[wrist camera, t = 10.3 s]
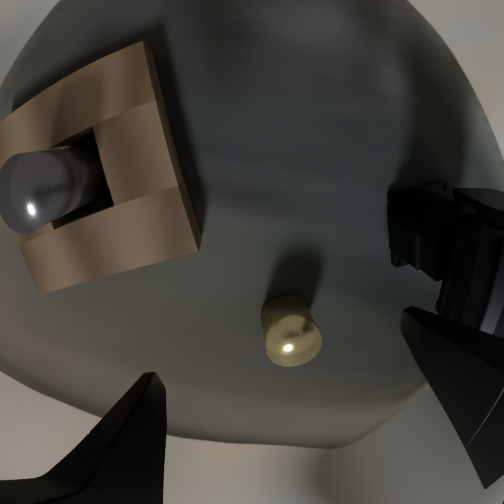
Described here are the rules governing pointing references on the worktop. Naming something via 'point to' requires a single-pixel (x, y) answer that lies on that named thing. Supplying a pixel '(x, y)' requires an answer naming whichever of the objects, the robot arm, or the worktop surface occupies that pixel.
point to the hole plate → (107, 172)
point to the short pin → (290, 331)
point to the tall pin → (48, 185)
